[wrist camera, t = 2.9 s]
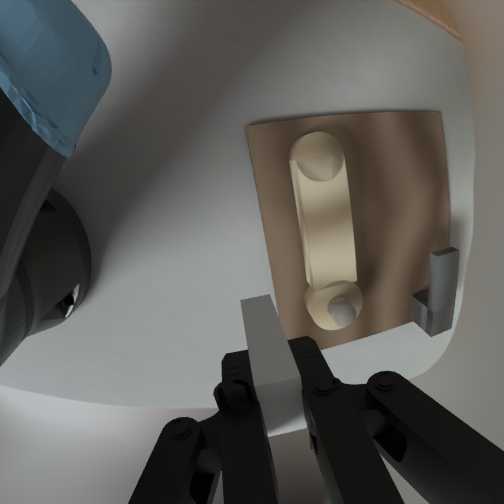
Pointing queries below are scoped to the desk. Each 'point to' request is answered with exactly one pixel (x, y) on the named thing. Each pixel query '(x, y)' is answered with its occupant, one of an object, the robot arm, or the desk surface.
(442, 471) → the robot arm
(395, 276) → the keeper board
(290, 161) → the link
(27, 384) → the desk surface
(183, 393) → the desk surface
